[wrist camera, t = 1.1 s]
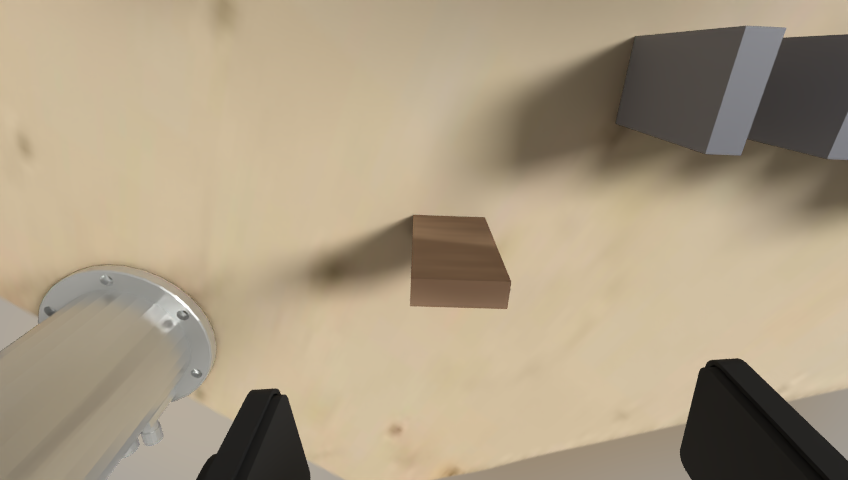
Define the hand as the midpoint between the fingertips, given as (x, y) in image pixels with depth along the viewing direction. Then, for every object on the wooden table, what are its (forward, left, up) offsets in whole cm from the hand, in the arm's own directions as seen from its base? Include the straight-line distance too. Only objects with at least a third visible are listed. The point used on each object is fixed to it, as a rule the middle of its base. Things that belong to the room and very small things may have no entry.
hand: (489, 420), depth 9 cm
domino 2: (+7, -12, -20) cm, 24 cm away
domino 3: (+7, -17, -20) cm, 27 cm away
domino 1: (-3, -1, -20) cm, 20 cm away
